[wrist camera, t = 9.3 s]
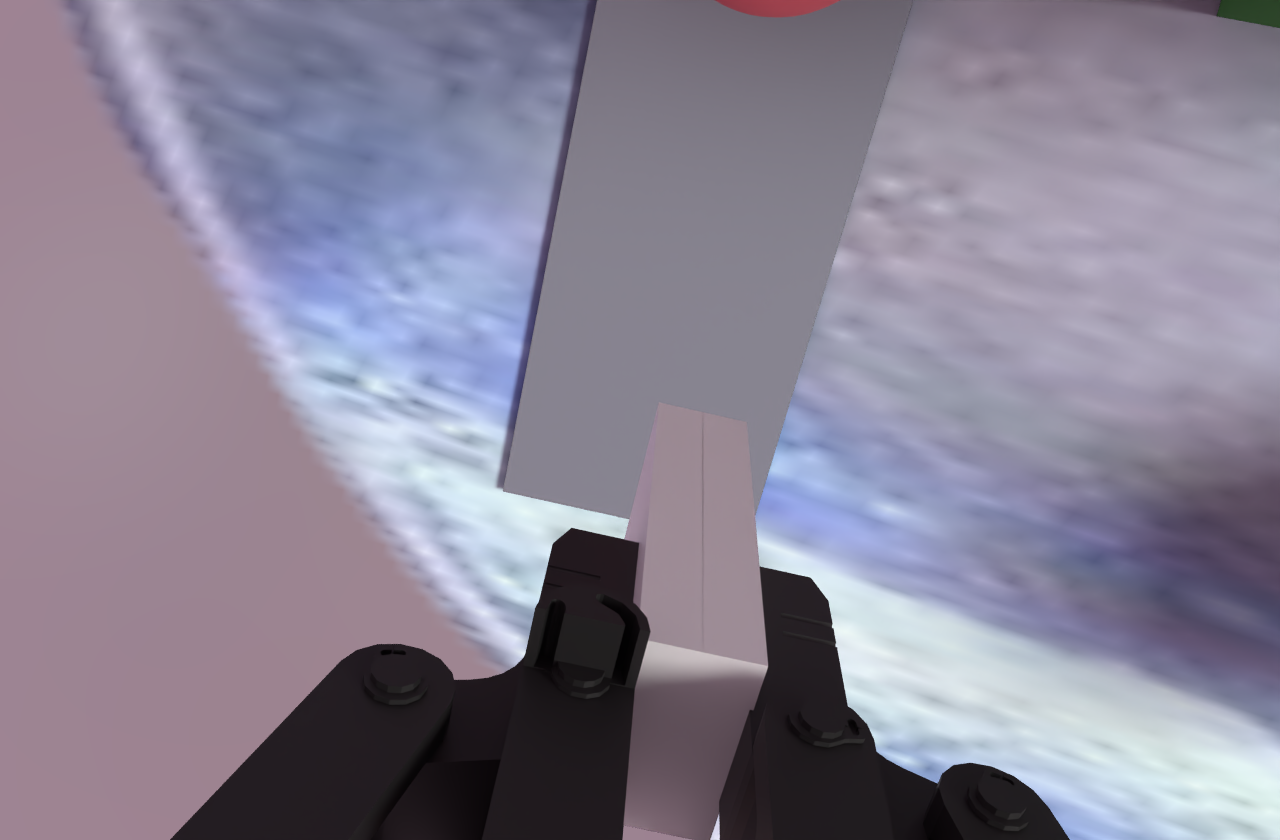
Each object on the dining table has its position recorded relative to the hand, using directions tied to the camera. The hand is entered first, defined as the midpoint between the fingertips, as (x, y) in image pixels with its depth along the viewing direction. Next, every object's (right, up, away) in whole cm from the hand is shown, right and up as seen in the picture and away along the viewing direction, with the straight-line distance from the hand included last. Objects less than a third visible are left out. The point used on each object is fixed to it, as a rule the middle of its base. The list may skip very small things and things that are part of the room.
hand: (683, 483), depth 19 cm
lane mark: (+2, +10, +11) cm, 15 cm away
